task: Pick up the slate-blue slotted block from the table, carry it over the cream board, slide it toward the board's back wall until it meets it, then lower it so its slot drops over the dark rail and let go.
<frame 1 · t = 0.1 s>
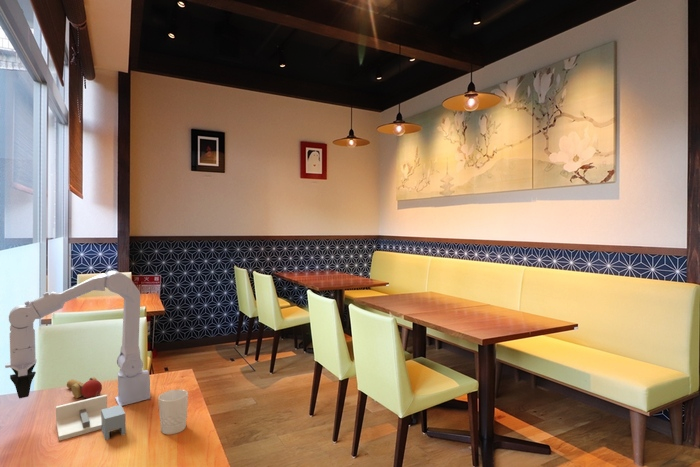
hand: (24, 392, 117), 10 cm above the table, tool pointing down, fingers open, 7 cm apart
white cup: (173, 429, 117), on the table
kendama: (82, 394, 140), on the table
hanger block: (113, 431, 115), on the table
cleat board: (84, 424, 119), on the table
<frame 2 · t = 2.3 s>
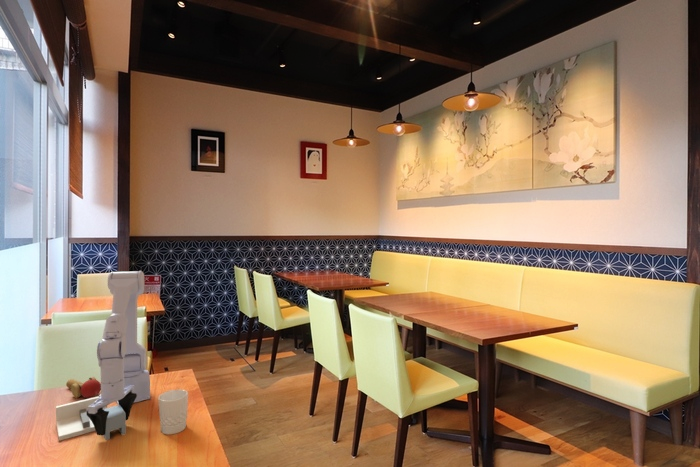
hand: (113, 426, 115), 1 cm above the table, tool pointing down, fingers closed on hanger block, 7 cm apart
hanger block: (113, 432, 115), on the table, touching gripper
everything else where it was.
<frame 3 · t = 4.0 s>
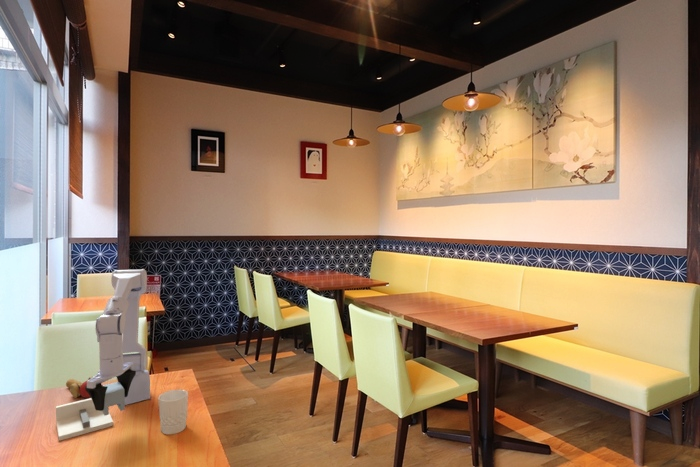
hand: (112, 402, 115), 8 cm above the table, tool pointing down, fingers closed on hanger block, 7 cm apart
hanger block: (112, 408, 115), point 7 cm above the table, touching gripper
everything else where it was.
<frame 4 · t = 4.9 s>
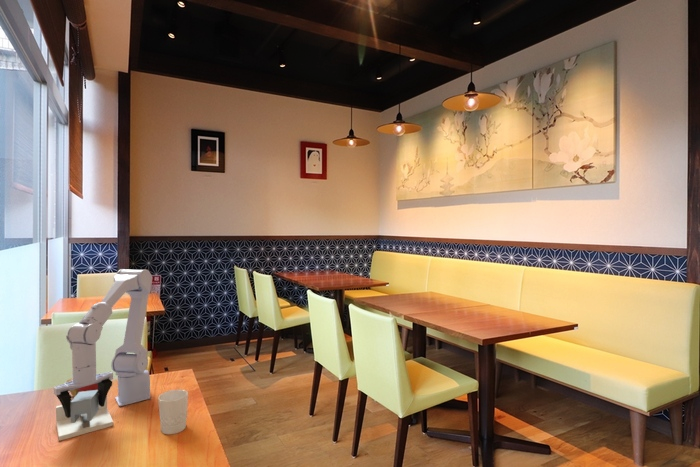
hand: (85, 410, 116), 5 cm above the table, tool pointing down, fingers closed on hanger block, 7 cm apart
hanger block: (85, 416, 116), point 4 cm above the table, touching gripper
everything else where it was.
when the fingers open (5 cm above the table, at t = 5.8 s): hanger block stays where it is, resting on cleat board.
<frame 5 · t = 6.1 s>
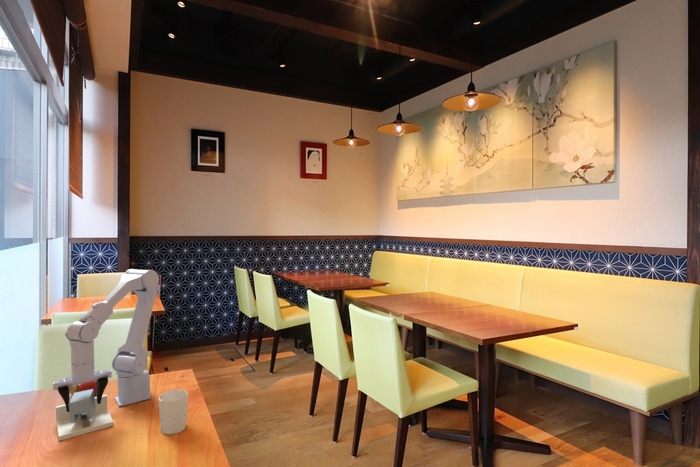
hand: (83, 406, 120), 5 cm above the table, tool pointing down, fingers open, 7 cm apart
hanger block: (83, 415, 119), point 3 cm above the table, touching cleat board, gripper
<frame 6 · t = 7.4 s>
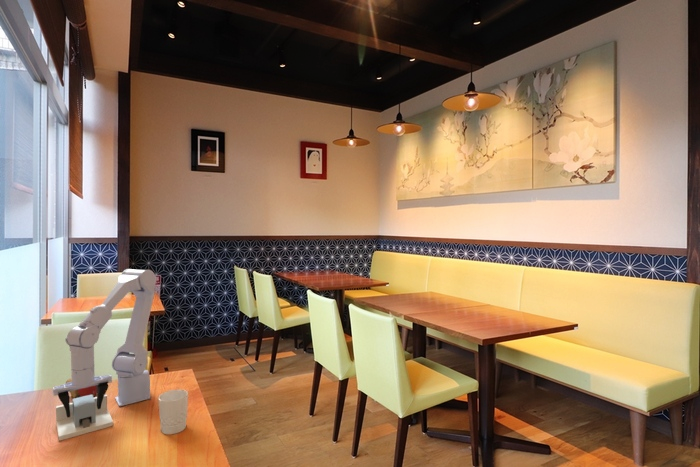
hand: (83, 411, 120), 3 cm above the table, tool pointing down, fingers open, 7 cm apart
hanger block: (84, 420, 119), point 1 cm above the table, touching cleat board
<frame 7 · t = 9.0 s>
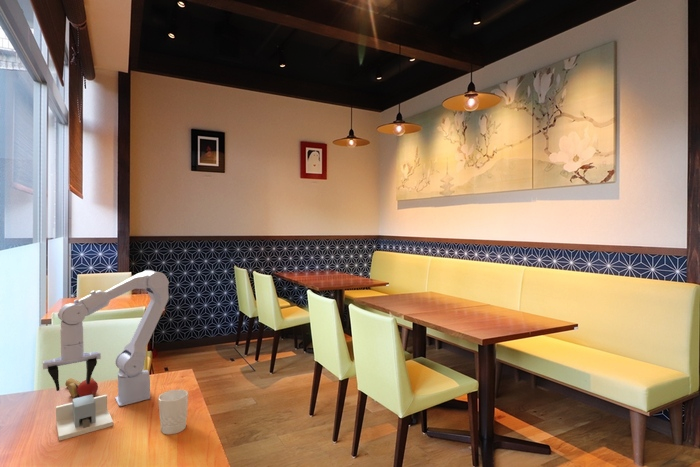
hand: (73, 386, 123), 9 cm above the table, tool pointing down, fingers open, 7 cm apart
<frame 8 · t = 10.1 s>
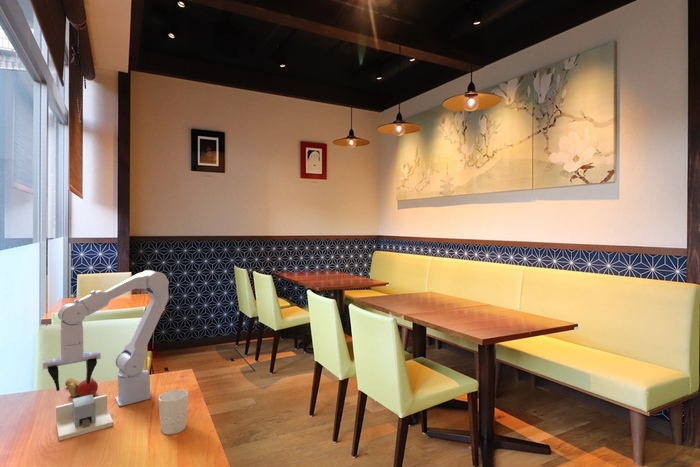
hand: (73, 386, 123), 9 cm above the table, tool pointing down, fingers open, 7 cm apart
at the end: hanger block 0.4 cm from the target spot, point 1.2 cm above the table; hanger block tilted 0°; the gripper is holding nothing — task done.
